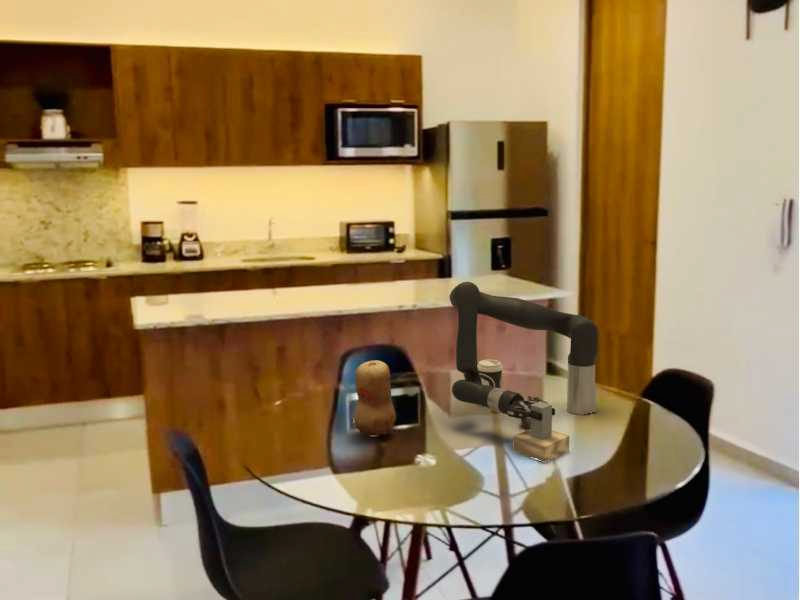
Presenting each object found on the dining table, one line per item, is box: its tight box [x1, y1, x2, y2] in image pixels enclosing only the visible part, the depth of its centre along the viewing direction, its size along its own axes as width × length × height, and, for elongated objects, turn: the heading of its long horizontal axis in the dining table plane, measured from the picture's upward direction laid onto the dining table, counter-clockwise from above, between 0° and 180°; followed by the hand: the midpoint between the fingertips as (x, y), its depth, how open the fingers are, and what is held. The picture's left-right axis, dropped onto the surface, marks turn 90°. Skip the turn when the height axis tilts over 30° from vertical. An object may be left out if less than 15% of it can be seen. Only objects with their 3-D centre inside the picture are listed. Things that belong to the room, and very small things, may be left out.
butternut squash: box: [353, 359, 397, 436], centre depth 249 cm, size 14×13×25 cm
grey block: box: [531, 401, 553, 440], centre depth 233 cm, size 4×4×10 cm
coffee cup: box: [477, 359, 504, 388], centre depth 279 cm, size 10×10×15 cm
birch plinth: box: [512, 429, 570, 463], centre depth 235 cm, size 12×12×5 cm
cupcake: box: [520, 395, 540, 431], centre depth 255 cm, size 10×10×10 cm
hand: (548, 414), depth 231 cm, fingers open, 5 cm apart
